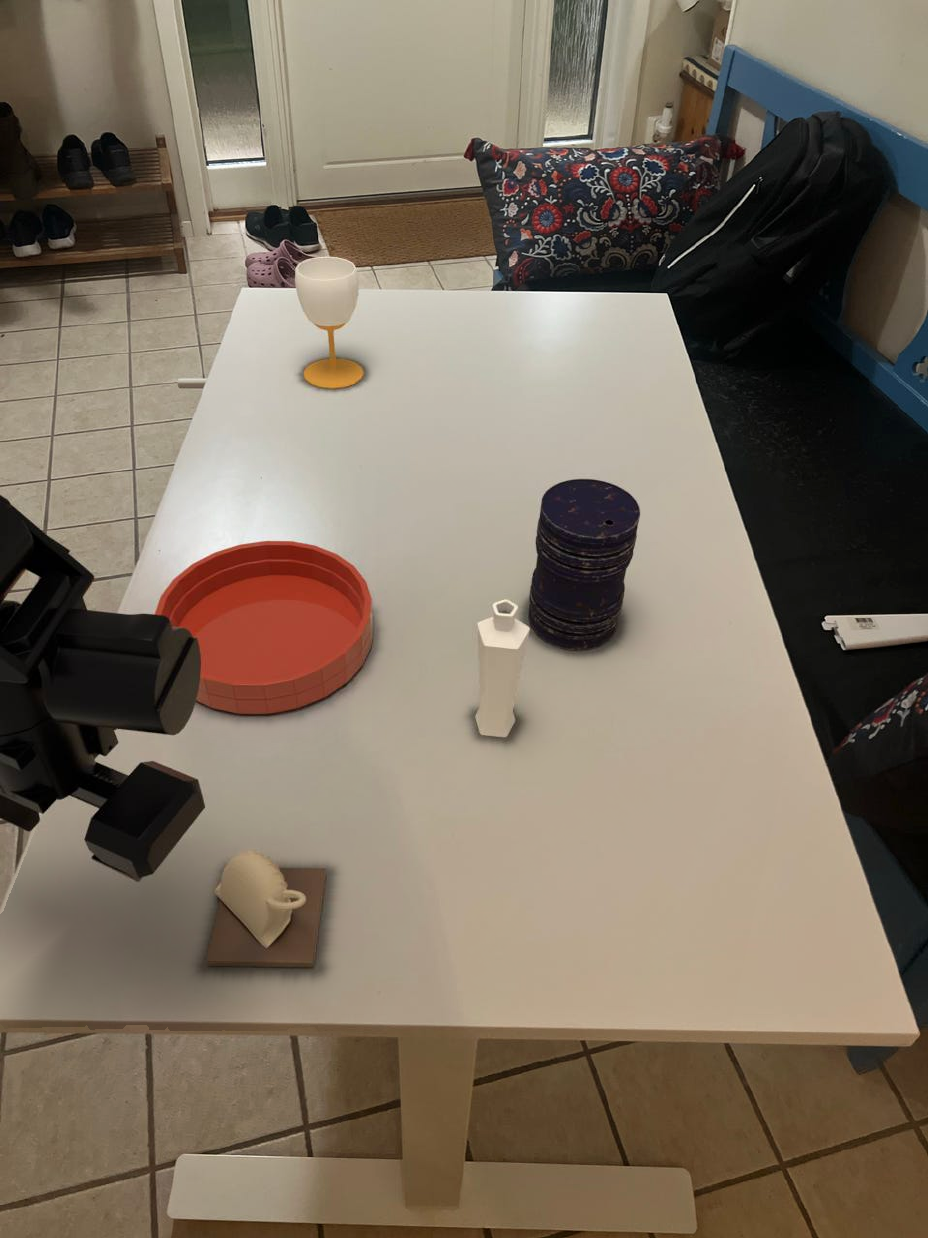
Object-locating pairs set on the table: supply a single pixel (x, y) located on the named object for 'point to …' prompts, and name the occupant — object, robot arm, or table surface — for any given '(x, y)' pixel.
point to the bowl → (272, 624)
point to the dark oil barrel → (581, 562)
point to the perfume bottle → (499, 668)
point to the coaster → (291, 946)
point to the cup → (329, 314)
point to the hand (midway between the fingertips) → (86, 850)
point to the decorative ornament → (258, 895)
